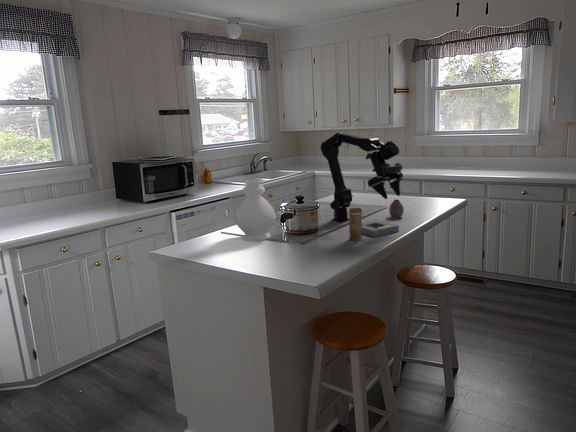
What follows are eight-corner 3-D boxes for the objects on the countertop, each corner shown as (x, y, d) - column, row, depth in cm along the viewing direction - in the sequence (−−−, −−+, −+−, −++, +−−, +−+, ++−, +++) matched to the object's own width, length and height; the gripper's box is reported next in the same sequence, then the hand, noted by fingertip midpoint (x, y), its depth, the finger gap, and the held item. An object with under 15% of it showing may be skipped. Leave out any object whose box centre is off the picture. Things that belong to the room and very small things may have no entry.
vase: (387, 218, 228) (387, 200, 226) (391, 215, 234) (391, 198, 232) (401, 219, 224) (401, 201, 222) (404, 216, 230) (405, 198, 228)
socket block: (353, 230, 208) (353, 224, 207) (376, 225, 215) (376, 219, 214) (375, 236, 196) (375, 230, 196) (398, 231, 204) (398, 225, 203)
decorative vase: (248, 245, 191) (244, 185, 186) (229, 236, 206) (225, 181, 200) (284, 237, 201) (282, 180, 195) (263, 229, 215) (260, 176, 210)
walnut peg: (346, 239, 195) (346, 208, 192) (356, 236, 198) (355, 207, 195) (355, 241, 191) (354, 210, 188) (364, 239, 193) (364, 209, 190)
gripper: (380, 159, 192) (394, 193, 190) (405, 154, 204) (419, 187, 202) (361, 169, 201) (374, 203, 198) (387, 165, 213) (399, 196, 211)
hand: (392, 197), depth 202 cm, fingers open, 9 cm apart
